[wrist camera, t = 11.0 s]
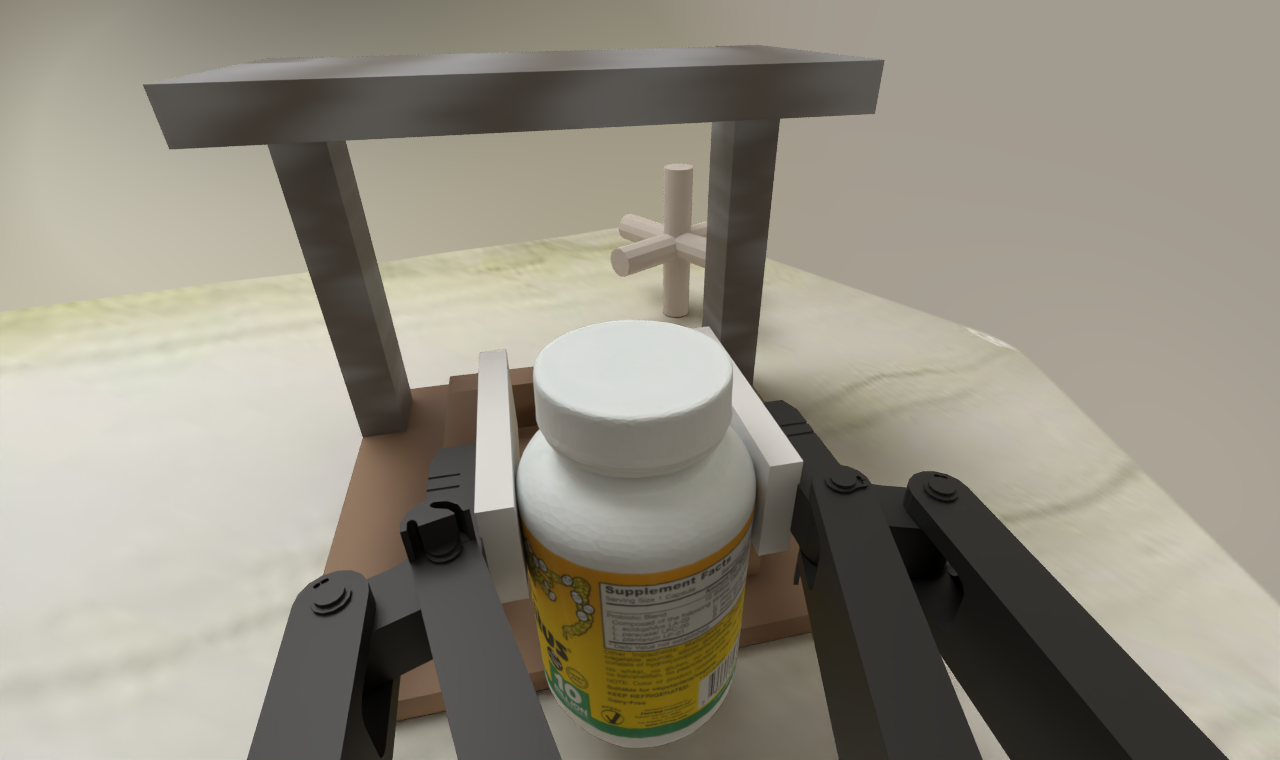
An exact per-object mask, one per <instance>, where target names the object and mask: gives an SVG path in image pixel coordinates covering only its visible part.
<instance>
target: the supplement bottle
mask: <svg viewBox="0 0 1280 760" xmlns="http://www.w3.org/2000/svg"><path fill="white" fill-rule="evenodd" d="M533 385H534V397H535V408H536V421H537V424H538V426H539V430H538V431H537V432H536V434H535V435H534V436H533V438H532V439H531V440H530V442H529V443H528V445H527V447H526V449H525V450H524V452H523V455H522V457H521V460H520V463H519V467H518V470H517V476H516V498H517V505H518V512H519V517H520V523H521V529H522V535H523V542H524V547H525V553H526V560H527V565H528V573H529V578H530V585H531V592H532V599H533V603H534V611H535V617H536V623H537V630H538V635H539V640H540V646H541V653H542V659H543V665H544V670H545V675H546V678H547V681H548V685H549V688H550V690H551V692H552V694H553V696H554V698H555V699H556V701H557V702H558V704H559V705H560V706H561V708H562V709H563V710H564V711H565V712H566V713H567V714H568V715H569V716H570V717H571V718H572V719H573V720H574V721H575V722H576V723H577V724H578V725H579V726H581V727H582V728H583V729H584V730H586V731H587V732H588V733H590V734H591V735H593V736H595V737H596V738H598V739H601V740H604V741H606V742H609V743H612V744H615V745H618V746H622V747H626V748H643V747H654V746H659V745H663V744H667V743H670V742H673V741H676V740H679V739H681V738H684V737H686V736H688V735H689V734H691V733H693V732H694V731H696V730H697V729H698V728H699V727H701V726H702V725H703V724H704V723H705V722H707V721H708V720H709V719H710V718H711V717H712V715H713V714H714V713H715V712H716V711H717V710H718V708H719V707H720V706H721V704H722V702H723V701H724V699H725V697H726V695H727V693H728V691H729V689H730V686H731V683H732V680H733V677H734V672H735V667H736V661H737V655H738V647H739V639H740V632H741V621H742V611H743V602H744V593H745V584H746V576H747V568H748V560H749V552H750V544H751V535H752V526H753V518H754V510H755V497H756V475H755V470H754V466H753V462H752V459H751V456H750V454H749V452H748V449H747V447H746V446H745V444H744V442H743V441H742V439H741V438H740V437H739V435H738V434H737V433H736V432H735V431H734V429H733V428H732V427H731V426H729V425H730V423H731V419H732V414H733V411H732V389H733V366H732V362H731V359H730V357H729V355H728V353H727V352H726V351H725V350H724V348H723V347H722V346H721V345H720V344H718V343H717V342H716V341H715V340H713V339H712V338H710V337H708V336H707V335H705V334H703V333H700V332H698V331H695V330H693V329H690V328H687V327H684V326H680V325H676V324H672V323H667V322H658V321H646V320H617V321H610V322H604V323H597V324H593V325H589V326H585V327H582V328H579V329H576V330H573V331H570V332H568V333H566V334H563V335H562V336H560V337H558V338H556V339H555V340H554V341H552V342H551V343H549V344H548V345H547V346H546V347H545V348H544V349H543V350H542V351H541V352H540V354H539V356H538V357H537V359H536V361H535V364H534V369H533Z"/></svg>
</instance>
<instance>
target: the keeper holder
mask: <svg viewBox="0 0 1280 760" xmlns="http://www.w3.org/2000/svg"><path fill="white" fill-rule="evenodd" d="M883 65H884V60H880V59H872V58H863V57H854V56H846V55H838V54H829V53H821V52H812V51H804V50H796V49H787V48H779V47H771V46H762V45H744V46H716V47H693V48H656V49H620V50H583V51H545V52H509V53H473V54H435V55H400V56H365V57H364V56H362V57H299V58H298V57H297V58H267V59H262V60H258V61H253V62H248V63H243V64H239V65H234V66H229V67H224V68H219V69H215V70H210V71H205V72H200V73H195V74H191V75H186V76H182V77H176V78H172V79H167V80H162V81H157V82H153V83H148V84H143V86H144V88H145V91H146V93H147V96H148V98H149V101H150V103H151V105H152V108H153V110H154V113H155V115H156V118H157V120H158V123H159V125H160V127H161V130H162V132H163V135H164V137H165V139H166V142H167V144H168V147H169V149H185V148H207V147H227V146H246V145H263V144H264V145H266V144H267V145H268V148H269V150H270V154H271V157H272V160H273V163H274V166H275V169H276V172H277V175H278V178H279V181H280V184H281V188H282V191H283V194H284V197H285V200H286V203H287V206H288V209H289V212H290V215H291V218H292V221H293V224H294V227H295V230H296V234H297V237H298V239H299V243H300V246H301V249H302V252H303V255H304V258H305V261H306V264H307V267H308V270H309V273H310V277H311V280H312V283H313V286H314V289H315V292H316V295H317V298H318V301H319V304H320V307H321V310H322V313H323V316H324V319H325V323H326V326H327V329H328V332H329V335H330V338H331V341H332V344H333V347H334V350H335V353H336V356H337V359H338V362H339V366H340V369H341V372H342V375H343V378H344V381H345V384H346V387H347V390H348V393H349V396H350V399H351V402H352V405H353V408H354V412H355V415H356V418H357V421H358V424H359V427H360V430H361V433H362V436H363V439H362V442H361V446H360V449H359V453H358V456H357V460H356V463H355V466H354V470H353V473H352V477H351V480H350V484H349V487H348V491H347V494H346V498H345V501H344V504H343V508H342V511H341V515H340V518H339V522H338V525H337V529H336V532H335V536H334V539H333V542H332V546H331V549H330V553H329V556H328V560H327V563H326V567H325V570H324V574H323V575H326V574H329V573H332V572H335V571H342V570H352V571H355V572H358V573H361V574H362V575H363V576H364V577H365V578H366V579H368V578H371V577H373V576H376V575H378V574H380V573H383V572H385V571H387V570H389V569H391V568H393V567H395V566H397V565H399V564H400V563H401V562H403V561H404V560H405V559H407V558H408V557H407V554H406V550H405V547H404V544H403V541H402V538H401V535H400V523H401V521H402V520H403V518H404V516H405V515H406V513H407V512H409V511H410V510H411V509H412V508H413V507H415V506H416V505H418V504H420V503H422V502H424V501H425V497H426V493H427V482H428V474H429V467H430V462H431V461H432V459H433V458H434V457H435V455H436V454H437V452H438V451H439V450H440V448H447V447H454V446H461V445H469V444H476V439H477V406H478V373H476V374H468V375H460V376H451V377H450V382H449V384H448V385H440V386H432V387H424V388H416V389H410V387H409V383H408V380H407V376H406V372H405V368H404V364H403V360H402V356H401V353H400V349H399V345H398V341H397V337H396V333H395V329H394V326H393V322H392V318H391V314H390V310H389V306H388V302H387V299H386V295H385V291H384V287H383V283H382V279H381V275H380V272H379V268H378V264H377V260H376V256H375V253H374V249H373V245H372V241H371V237H370V233H369V229H368V226H367V222H366V218H365V214H364V210H363V206H362V202H361V198H360V195H359V191H358V187H357V183H356V179H355V175H354V171H353V168H352V164H351V160H350V156H349V152H348V149H347V144H346V140H365V139H385V138H405V137H423V136H424V137H425V136H444V135H464V134H484V133H504V132H522V131H523V132H524V131H544V130H563V129H583V128H603V127H623V126H641V125H662V124H682V123H701V122H712V133H711V153H710V154H711V155H710V176H709V195H708V218H707V238H706V259H705V280H704V301H703V322H702V327H708V326H709V327H710V328H711V330H712V331H713V333H714V334H715V336H716V337H717V338H718V340H719V341H720V343H721V344H722V346H723V347H724V348H725V350H726V351H727V353H728V354H729V356H730V357H731V358H732V360H733V361H734V363H735V364H736V366H737V367H738V368H739V370H740V371H741V373H742V374H743V376H744V377H745V378H746V380H747V381H748V383H749V384H750V386H751V387H752V388H753V390H754V391H755V393H756V394H757V396H758V397H759V398H760V400H761V401H762V403H765V402H764V401H763V399H762V398H761V396H760V395H759V394H758V392H757V391H756V389H755V388H754V387H753V385H752V384H753V375H754V365H755V355H756V346H757V336H758V326H759V317H760V307H761V297H762V288H763V278H764V268H765V258H766V249H767V239H768V228H769V219H770V210H771V200H772V191H773V181H774V171H775V160H776V152H777V142H778V132H779V123H780V119H781V118H799V117H800V118H801V117H821V116H841V115H860V114H875V110H876V104H877V99H878V93H879V88H880V82H881V77H882V71H883ZM533 369H534V367H526V368H518V369H510V370H509V372H510V378H511V385H512V392H513V398H514V405H515V411H516V418H517V425H518V438H519V452H520V460H521V457H522V455H523V452H524V450H525V449H526V447H527V445H528V443H529V442H530V440H531V439H532V438H533V436H534V435H535V434H536V432H537V431H538V430H539V426H538V424H537V421H536V408H535V397H534V385H533ZM798 552H799V545H798V543H797V541H796V540H795V538H794V536H793V535H792V533H791V538H790V544H789V549H788V551H782V552H777V553H771V554H766V555H760V556H758V554H757V552H756V550H755V548H754V546H753V544H752V542H751V544H750V552H749V560H748V568H747V576H746V584H745V593H744V602H743V611H742V621H741V632H740V639H739V647H743V646H748V645H752V644H757V643H762V642H766V641H771V640H776V639H780V638H785V637H789V636H794V635H799V634H803V633H808V632H812V629H811V624H810V620H809V615H808V610H807V605H806V601H805V596H804V591H803V586H802V582H801V577H800V578H799V584H798V585H793V584H794V574H795V568H796V563H797V557H798ZM527 569H528V565H527ZM528 583H529V598H527V599H522V600H516V601H511V602H505V603H501V604H502V606H503V609H504V612H505V614H506V617H507V619H508V622H509V625H510V627H511V630H512V632H513V635H514V637H515V640H516V643H517V645H518V648H519V650H520V653H521V656H522V658H523V661H524V663H525V666H526V668H527V671H528V674H529V676H530V679H531V681H532V684H533V687H534V689H535V691H539V690H544V689H548V688H549V685H548V681H547V678H546V675H545V670H544V665H543V659H542V653H541V646H540V640H539V635H538V630H537V623H536V617H535V611H534V603H533V599H532V592H531V585H530V578H529V573H528ZM442 711H446V709H445V705H444V701H443V697H442V693H441V689H440V685H439V680H438V676H437V672H436V668H435V664H434V660H431V661H429V662H427V663H425V664H423V665H421V666H419V667H417V668H415V669H413V670H411V671H409V672H407V673H405V674H403V675H401V677H400V687H399V697H398V707H397V717H396V721H400V720H405V719H409V718H414V717H419V716H423V715H428V714H432V713H437V712H442Z"/></svg>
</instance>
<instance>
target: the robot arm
mask: <svg viewBox="0 0 1280 760" xmlns="http://www.w3.org/2000/svg"><path fill="white" fill-rule="evenodd" d="M690 329H693V330H695V331H698V332H700V333H703V334H705V335H707V336H708V337H710V338H712V339H713V340H715V341H716V342H717V343H718V344H720V345H721V346H722V344H721V343H720V341H719V340H718V338H717V337H716V336H715V334H714V333H713V331H712V330H711V328H710V327H709V326H708V327H699V328H690ZM722 347H723V346H722ZM723 348H724V347H723ZM724 350H725V348H724ZM725 351H726V350H725ZM726 352H727V351H726ZM728 355H729V354H728ZM729 357H730V356H729ZM730 359H731V362H732V366H733V389H732V411H733V414H732V419H731V423H730V425H729V426H731V427H732V428H733V429H734V431H735V432H736V433H737V434H738V435H739V437H740V438H741V439H742V441H743V442H744V444H745V446H746V447H747V449H748V452H749V454H750V456H751V459H752V462H753V466H754V470H755V475H756V497H755V510H754V518H753V526H752V535H751V542H752V544H753V546H754V548H755V550H756V552H757V554H758V556H760V555H766V554H771V553H777V552H782V551H788V549H789V544H790V538H791V533H792V535H793V536H794V538H795V540H796V541H797V543H798V545H799V552H798V557H797V563H796V568H795V574H794V584H793V585H798V584H799V578H800V577H801V582H802V586H803V591H804V596H805V601H806V605H807V610H808V615H809V620H810V624H811V629H812V634H813V639H814V643H815V648H816V653H817V658H818V662H819V667H820V672H821V677H822V681H823V686H824V691H825V696H826V700H827V705H828V710H829V715H830V719H831V724H832V729H833V734H834V738H835V743H836V748H837V753H838V757H839V760H983V759H982V757H981V754H980V752H979V749H978V747H977V744H976V742H975V739H974V737H973V735H972V732H971V730H970V727H969V725H968V722H967V720H966V717H965V715H964V712H963V710H962V707H961V705H960V702H959V700H958V697H957V695H956V692H955V690H954V687H953V685H952V682H951V680H950V677H949V675H948V672H947V670H946V667H945V665H944V662H943V660H942V658H943V659H944V661H945V662H946V664H947V665H948V667H949V668H950V670H951V671H952V673H953V674H954V676H955V677H956V679H957V680H958V682H959V683H960V685H961V686H962V688H963V689H964V691H965V692H966V694H967V695H968V697H969V698H970V700H971V701H972V703H973V704H974V706H975V707H976V709H977V710H978V712H979V713H980V715H981V716H982V718H983V719H984V721H985V722H986V724H987V725H988V727H989V728H990V730H991V731H992V733H993V734H994V736H995V737H996V739H997V740H998V742H999V743H1000V745H1001V746H1002V748H1003V749H1004V751H1005V752H1006V754H1007V755H1008V757H1009V758H1010V760H1229V759H1228V758H1227V757H1226V756H1225V755H1224V754H1223V753H1222V752H1221V751H1220V750H1219V749H1218V748H1217V747H1216V746H1215V744H1214V743H1213V742H1212V741H1211V740H1210V739H1209V738H1208V737H1207V736H1206V735H1205V734H1204V733H1203V732H1202V731H1201V730H1200V729H1199V728H1198V727H1197V726H1196V725H1195V724H1194V723H1193V722H1192V721H1191V719H1190V718H1189V717H1188V716H1187V715H1186V714H1185V713H1184V712H1183V711H1182V710H1181V709H1180V708H1179V707H1178V706H1177V705H1176V704H1175V703H1174V702H1173V701H1172V700H1171V699H1170V698H1169V697H1168V695H1167V694H1166V693H1165V692H1164V691H1163V690H1162V689H1161V688H1160V687H1159V686H1158V685H1157V684H1156V683H1155V682H1154V681H1153V680H1152V679H1151V678H1150V677H1149V676H1148V675H1147V674H1146V673H1145V672H1144V670H1143V669H1142V668H1141V667H1140V666H1139V665H1138V664H1137V663H1136V662H1135V661H1134V660H1133V659H1132V658H1131V657H1130V656H1129V655H1128V654H1127V653H1126V652H1125V651H1124V650H1123V649H1122V648H1121V646H1120V645H1119V644H1118V643H1117V642H1116V641H1115V640H1114V639H1113V638H1112V637H1111V636H1110V635H1109V634H1108V633H1107V632H1106V631H1105V630H1104V629H1103V628H1102V627H1101V626H1100V625H1099V624H1098V623H1097V621H1096V620H1095V619H1094V618H1093V617H1092V616H1091V615H1090V614H1089V613H1088V612H1087V611H1086V610H1085V609H1084V608H1083V607H1082V606H1081V605H1080V604H1079V603H1078V602H1077V601H1076V600H1075V599H1074V598H1073V596H1072V595H1071V594H1070V593H1069V592H1068V591H1067V590H1066V589H1065V588H1064V587H1063V586H1062V585H1061V584H1060V583H1059V582H1058V581H1057V580H1056V579H1055V578H1054V577H1053V576H1052V575H1051V574H1050V572H1049V571H1048V570H1047V569H1046V568H1045V567H1044V566H1043V565H1042V564H1041V563H1040V562H1039V561H1038V560H1037V559H1036V558H1035V557H1034V556H1033V555H1032V554H1031V553H1030V552H1029V551H1028V550H1027V549H1026V547H1025V546H1024V545H1023V544H1022V543H1021V542H1020V541H1019V540H1018V539H1017V538H1016V537H1015V536H1014V535H1013V534H1012V533H1011V532H1010V531H1009V530H1008V529H1007V528H1006V527H1005V526H1004V525H1003V523H1002V522H1001V521H1000V520H999V519H998V518H997V517H996V516H995V515H994V514H993V513H992V512H991V511H990V510H989V509H988V508H987V507H986V506H985V505H984V504H983V503H982V502H981V501H980V500H979V498H978V497H977V496H976V495H975V494H974V493H973V492H972V491H971V490H970V489H969V488H968V487H967V486H966V485H964V484H963V483H962V482H961V481H959V480H958V479H956V478H954V477H951V476H949V475H947V474H943V473H939V472H935V471H923V472H920V473H917V474H914V475H913V476H912V477H911V478H910V479H909V482H908V485H907V488H905V487H893V486H881V485H874V484H871V482H870V481H869V480H868V478H867V477H866V476H865V475H863V474H862V473H861V472H859V471H858V470H855V469H853V468H850V467H848V466H842V465H840V464H839V463H838V462H837V460H836V459H835V458H834V456H833V455H832V454H831V453H830V451H829V450H828V449H827V447H826V446H825V445H824V444H823V442H822V441H821V440H820V438H819V437H818V436H817V435H816V433H815V434H814V431H813V429H812V428H811V427H810V425H809V424H807V423H806V420H805V419H804V418H803V416H802V415H801V414H800V413H799V411H798V410H797V409H795V408H794V407H792V406H791V405H789V404H787V403H786V402H784V401H783V400H779V401H772V402H765V403H762V401H761V400H760V398H759V397H758V396H757V394H756V393H755V391H754V390H753V388H752V387H751V386H750V384H749V383H748V381H747V380H746V378H745V377H744V376H743V374H742V373H741V371H740V370H739V368H738V367H737V366H736V364H735V363H734V361H733V360H732V358H731V357H730ZM519 463H520V452H519V438H518V425H517V418H516V411H515V405H514V398H513V392H512V385H511V378H510V372H509V365H508V359H507V352H506V349H503V350H494V351H485V352H479V372H478V406H477V439H476V444H469V445H461V446H454V447H447V448H440V450H439V451H438V452H437V454H436V455H435V457H434V458H433V459H432V461H431V462H430V467H429V474H428V482H427V493H426V497H425V501H424V502H422V503H420V504H418V505H416V506H415V507H413V508H412V509H411V510H410V511H409V512H407V513H406V515H405V516H404V518H403V520H402V521H401V523H400V535H401V538H402V541H403V544H404V547H405V550H406V554H407V557H408V558H407V559H405V560H404V561H403V562H401V563H400V564H399V565H397V566H395V567H393V568H391V569H389V570H387V571H385V572H383V573H380V574H378V575H376V576H373V577H371V578H368V579H366V578H365V577H364V576H363V575H362V574H361V573H358V572H355V571H352V570H342V571H335V572H332V573H329V574H326V575H323V576H321V577H319V578H318V579H316V580H314V581H313V582H311V583H309V584H308V585H307V586H306V587H305V588H304V589H303V590H302V591H301V592H300V593H299V594H298V596H297V598H296V600H295V602H294V603H293V605H292V608H291V612H290V615H289V618H288V622H287V625H286V629H285V632H284V635H283V639H282V642H281V646H280V649H279V652H278V656H277V659H276V663H275V666H274V669H273V673H272V676H271V680H270V683H269V686H268V690H267V693H266V697H265V700H264V703H263V707H262V710H261V714H260V717H259V720H258V724H257V727H256V731H255V734H254V737H253V741H252V744H251V748H250V751H249V754H248V758H247V760H392V758H393V748H394V738H395V727H396V717H397V707H398V697H399V687H400V677H401V675H403V674H405V673H407V672H409V671H411V670H413V669H415V668H417V667H419V666H421V665H423V664H425V663H427V662H429V661H431V660H434V664H435V668H436V672H437V676H438V680H439V685H440V689H441V693H442V697H443V701H444V705H445V709H446V713H447V717H448V721H449V725H450V729H451V733H452V737H453V741H454V745H455V749H456V753H457V757H458V760H562V759H561V756H560V754H559V751H558V749H557V746H556V743H555V741H554V738H553V736H552V733H551V731H550V728H549V725H548V723H547V720H546V718H545V715H544V712H543V710H542V707H541V705H540V702H539V700H538V697H537V694H536V692H535V689H534V687H533V684H532V681H531V679H530V676H529V674H528V671H527V668H526V666H525V663H524V661H523V658H522V656H521V653H520V650H519V648H518V645H517V643H516V640H515V637H514V635H513V632H512V630H511V627H510V625H509V622H508V619H507V617H506V614H505V612H504V609H503V606H502V604H501V603H505V602H511V601H516V600H522V599H527V598H529V583H528V569H527V560H526V553H525V547H524V542H523V535H522V529H521V523H520V517H519V512H518V505H517V498H516V476H517V470H518V467H519ZM941 656H942V657H941Z"/></svg>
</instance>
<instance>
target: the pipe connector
mask: <svg viewBox="0 0 1280 760" xmlns="http://www.w3.org/2000/svg"><path fill="white" fill-rule="evenodd" d="M692 184H693V166H691V165H688V164H670V165H666V166H664V224H662V223H659V222H656V221H653V220H649V219H646V218H643V217H640V216H637V215H634V214H627V215H625V216H624V217H623V218H622V220H621V221H620V225H619V232H620V235H621V236H622V237H623V238H625V239H627V240H630V241H633V242H635V243H632V244H629V245H625V246H622V247H619V248H616V249H614V250H613V251H612V253H611V263H612V267H613V269H614V270H615V272H616V273H617V274H618V275H619V276H628V275H631V274H634V273H637V272H640V271H642V270H645V269H648V268H651V267H654V266H657V265H660V264H663V313H664V314H665V315H667V316H670V317H682V316H685V315H687V314H688V308H689V277H690V263H693V264H695V265H698V266H701V267H703V268H705V259H706V238H707V221H705V222H701V223H698V224H695V225H691V216H692V213H691V212H692Z"/></svg>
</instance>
